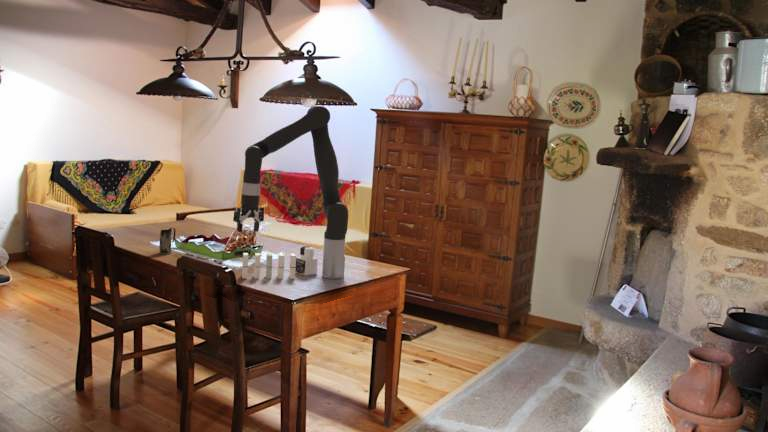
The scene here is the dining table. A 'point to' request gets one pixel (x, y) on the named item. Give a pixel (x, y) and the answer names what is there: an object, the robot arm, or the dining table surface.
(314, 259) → the medicine bottle
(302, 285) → the dining table surface
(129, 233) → the dining table surface
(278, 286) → the dining table surface
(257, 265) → the domino
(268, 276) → the domino
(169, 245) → the mug
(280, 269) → the domino
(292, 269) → the domino
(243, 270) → the domino
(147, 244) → the dining table surface
